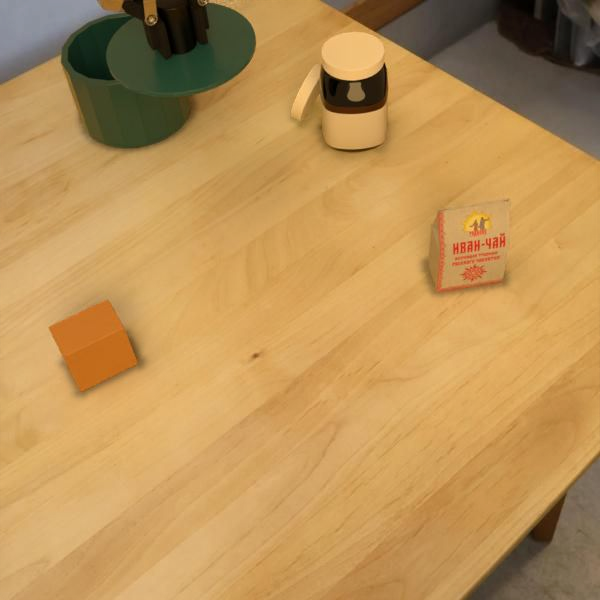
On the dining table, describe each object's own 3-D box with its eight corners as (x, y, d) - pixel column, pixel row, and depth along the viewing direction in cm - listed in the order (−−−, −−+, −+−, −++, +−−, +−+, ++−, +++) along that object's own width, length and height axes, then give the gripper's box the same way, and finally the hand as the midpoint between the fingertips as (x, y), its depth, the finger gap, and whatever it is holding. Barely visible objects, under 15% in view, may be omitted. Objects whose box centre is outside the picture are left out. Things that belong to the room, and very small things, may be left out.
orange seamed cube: (81, 392, 81) (63, 357, 77) (66, 362, 84) (48, 326, 79) (138, 363, 83) (124, 327, 78) (122, 335, 85) (107, 298, 80)
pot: (107, 163, 101) (86, 99, 93) (67, 102, 108) (44, 38, 101) (210, 120, 104) (197, 55, 97) (164, 63, 112) (149, -1, 104)
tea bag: (428, 264, 88) (433, 195, 80) (492, 254, 88) (504, 185, 80) (436, 292, 86) (443, 224, 78) (502, 282, 86) (515, 213, 78)
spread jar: (390, 160, 98) (391, 78, 89) (291, 165, 98) (283, 84, 89) (383, 93, 105) (384, 10, 96) (292, 98, 106) (284, 16, 96)
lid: (144, 123, 78) (129, 68, 73) (86, 43, 86) (69, -11, 82) (283, 65, 82) (278, 9, 77) (215, -6, 90) (206, -61, 85)
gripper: (209, -193, 73) (237, -2, 88) (28, -135, 69) (88, 55, 83) (250, -162, 69) (272, 33, 83) (60, -98, 65) (118, 96, 79)
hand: (180, 42), depth 83 cm, fingers closed on lid, 3 cm apart
